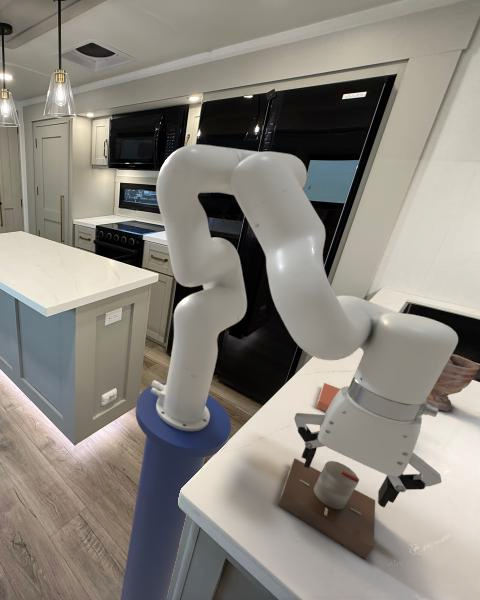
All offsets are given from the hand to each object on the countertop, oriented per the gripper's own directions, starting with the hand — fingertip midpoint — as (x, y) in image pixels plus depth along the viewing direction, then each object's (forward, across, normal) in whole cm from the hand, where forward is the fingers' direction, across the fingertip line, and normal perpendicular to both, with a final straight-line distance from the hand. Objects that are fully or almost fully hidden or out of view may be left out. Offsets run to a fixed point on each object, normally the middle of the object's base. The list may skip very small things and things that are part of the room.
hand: (342, 480), depth 51 cm
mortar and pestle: (+8, -14, -55) cm, 58 cm away
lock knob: (+5, +1, 0) cm, 5 cm away
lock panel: (+8, +1, 0) cm, 8 cm away
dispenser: (+8, 0, -35) cm, 36 cm away
